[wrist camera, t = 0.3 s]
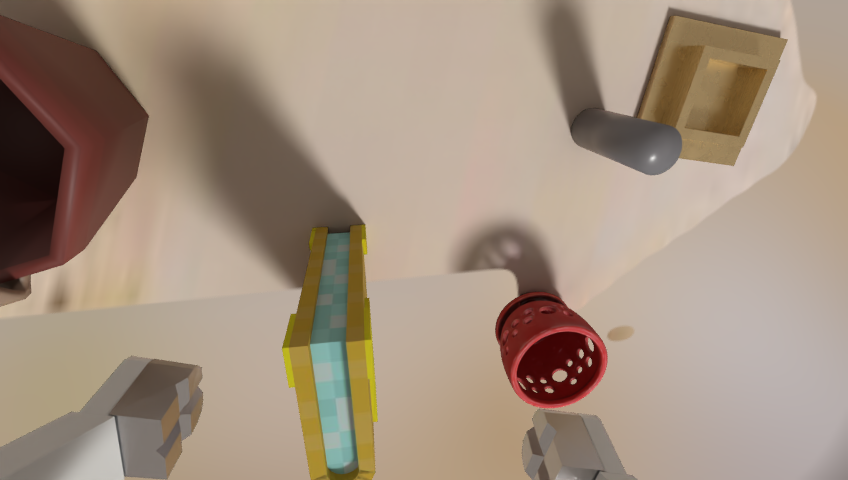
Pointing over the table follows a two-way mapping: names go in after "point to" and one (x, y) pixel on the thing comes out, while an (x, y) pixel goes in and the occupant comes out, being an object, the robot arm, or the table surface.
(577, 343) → the plant pot
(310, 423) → the book
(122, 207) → the table surface
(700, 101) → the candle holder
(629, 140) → the grey cylinder
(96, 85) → the brown basket
